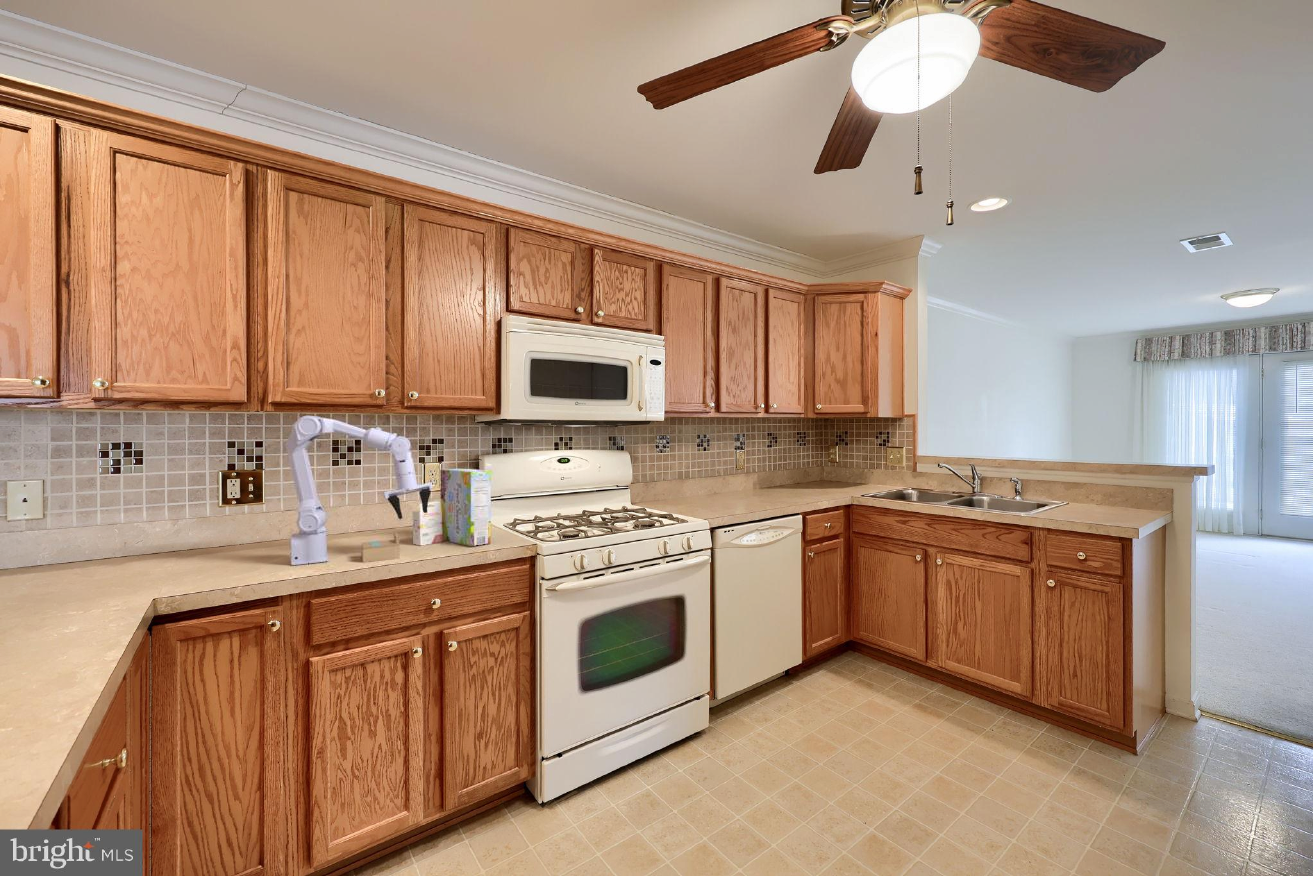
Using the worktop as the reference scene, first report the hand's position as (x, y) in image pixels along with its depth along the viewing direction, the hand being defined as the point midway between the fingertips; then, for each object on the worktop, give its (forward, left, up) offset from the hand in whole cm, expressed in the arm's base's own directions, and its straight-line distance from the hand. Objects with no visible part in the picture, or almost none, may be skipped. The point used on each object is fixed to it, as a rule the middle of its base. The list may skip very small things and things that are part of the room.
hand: (413, 515), depth 180 cm
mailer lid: (-10, -1, -8) cm, 13 cm away
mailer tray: (-10, -1, -12) cm, 16 cm away
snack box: (+18, +11, -13) cm, 25 cm away
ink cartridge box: (+6, +15, -13) cm, 21 cm away
